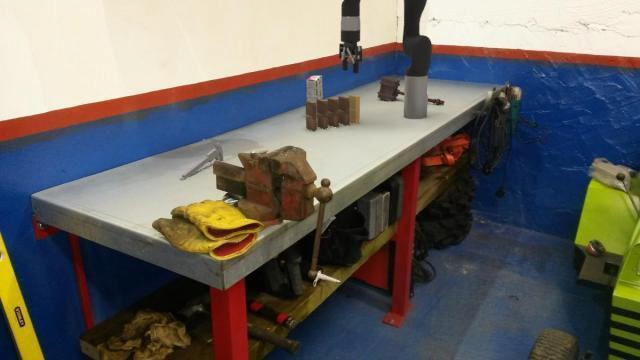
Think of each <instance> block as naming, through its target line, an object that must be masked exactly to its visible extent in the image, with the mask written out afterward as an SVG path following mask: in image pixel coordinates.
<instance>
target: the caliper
mask: <svg viewBox="0 0 640 360" xmlns="http://www.w3.org/2000/svg"><path fill="white" fill-rule="evenodd" d="M214 160H215V161H216V160H220V161H224V152H223V147H222V145H221V144H220V143H219V142H216V144H214V148H213V149H212V150H211V151H209V152H208V153H207V154H206V155H205V157H203V158H202V159H201V160H199V161H198V162H197V163H195V164H194V165H193V166H192V167H190V168H189V169H188V170H187V171H185V172H184V173H183V174H182V175H181V177H180V179H179V180H180V181H184V180H186V178H187V179H188V177H189V178H190V177H191V176H192V175H194V174H195V173H197V171H199V170H200V169H202V167H204V166H205V165H207V164H208V163H212V162H213V161H214Z"/></svg>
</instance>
